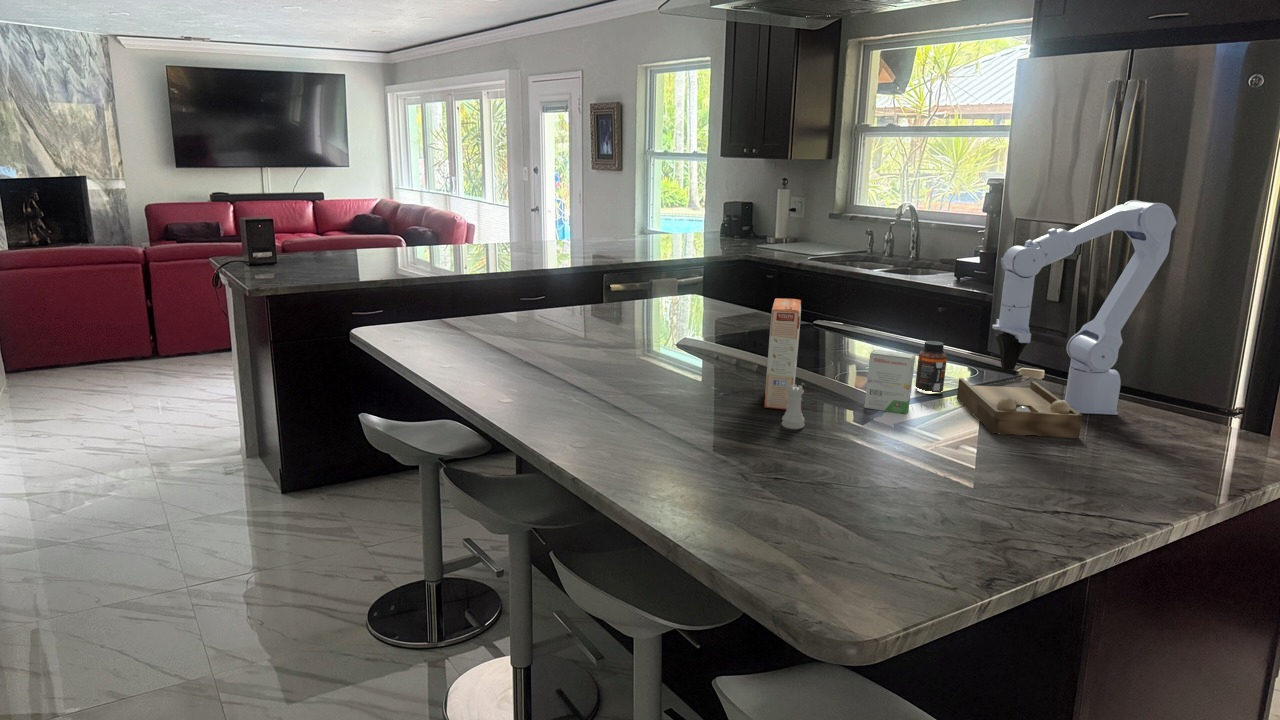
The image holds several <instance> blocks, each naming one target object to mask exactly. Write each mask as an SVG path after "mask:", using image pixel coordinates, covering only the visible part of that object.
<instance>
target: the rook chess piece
mask: <svg viewBox="0 0 1280 720" xmlns="http://www.w3.org/2000/svg"><path fill="white" fill-rule="evenodd" d="M787 392H788V394H789V397H788V398H787V399H788V406H787V410H785V412H784V415H782V418H781V420H782V422H781V425H782V427H784V429H789V430H801V429H802V428H804V427H805V417H804V416H803V415H804V413H802V406H801V405H802V401H803V398H802V395H803V394H804V393H805V391H804V389H803V386H802V385H799V384H798V385H797V384H795V385H794V387H793V385H790V386H789V388H788V390H787Z"/></svg>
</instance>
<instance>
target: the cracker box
mask: <svg viewBox="0 0 1280 720" xmlns="http://www.w3.org/2000/svg"><path fill="white" fill-rule="evenodd" d="M801 313H802V300H801V299H796V298H778V297H777V298H775V299H774V301H773V304H772V308H771V316H770V328H769V339H768V350H767V351H768V353H767V354H768V355H767V363H766V365H767V367H766V376H765V377H766V378H765V379H766V380H765V394H764V408H765V409H766V408H768V409H773V410H774V409H775V410H785V411H786V410H787V406H788V399H787V398H788V397H789V394H788V392H787V390H788V388H789V386H790V385H793V387H794V385H796V375H797V364H798V354H799V353H798V352H799V351H798V350H799V344H800V343H799V342H800V331H801V330H800V329H801V328H800V327H801V317H802V316H801Z"/></svg>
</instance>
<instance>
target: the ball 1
mask: <svg viewBox="0 0 1280 720" xmlns="http://www.w3.org/2000/svg"><path fill="white" fill-rule="evenodd" d="M997 409H998V410H1000V411H1015V410H1016V403H1015V402H1014V400H1012V399H1010V398H1003V399H1001V400H1000V401H999V402H998V404H997Z"/></svg>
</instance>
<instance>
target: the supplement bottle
mask: <svg viewBox="0 0 1280 720" xmlns="http://www.w3.org/2000/svg"><path fill="white" fill-rule="evenodd" d="M944 344H945V343H944V342H941V341H938V340H937V341H936V340H927V341H924V346H923V347H924V349H923V350H920V352H919V353H918V358H917V359H918V360H917V365H916V366H917V368H916V376H915V385H914V387H915V386H916V387H917V388H919V389H922V390H925V391H932V392H941V391H943V392H944V386H945V377H946V368H947V359H948V356H947V354H946V352H945V351H944V349H945V348H944V346H945V345H944Z"/></svg>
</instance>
